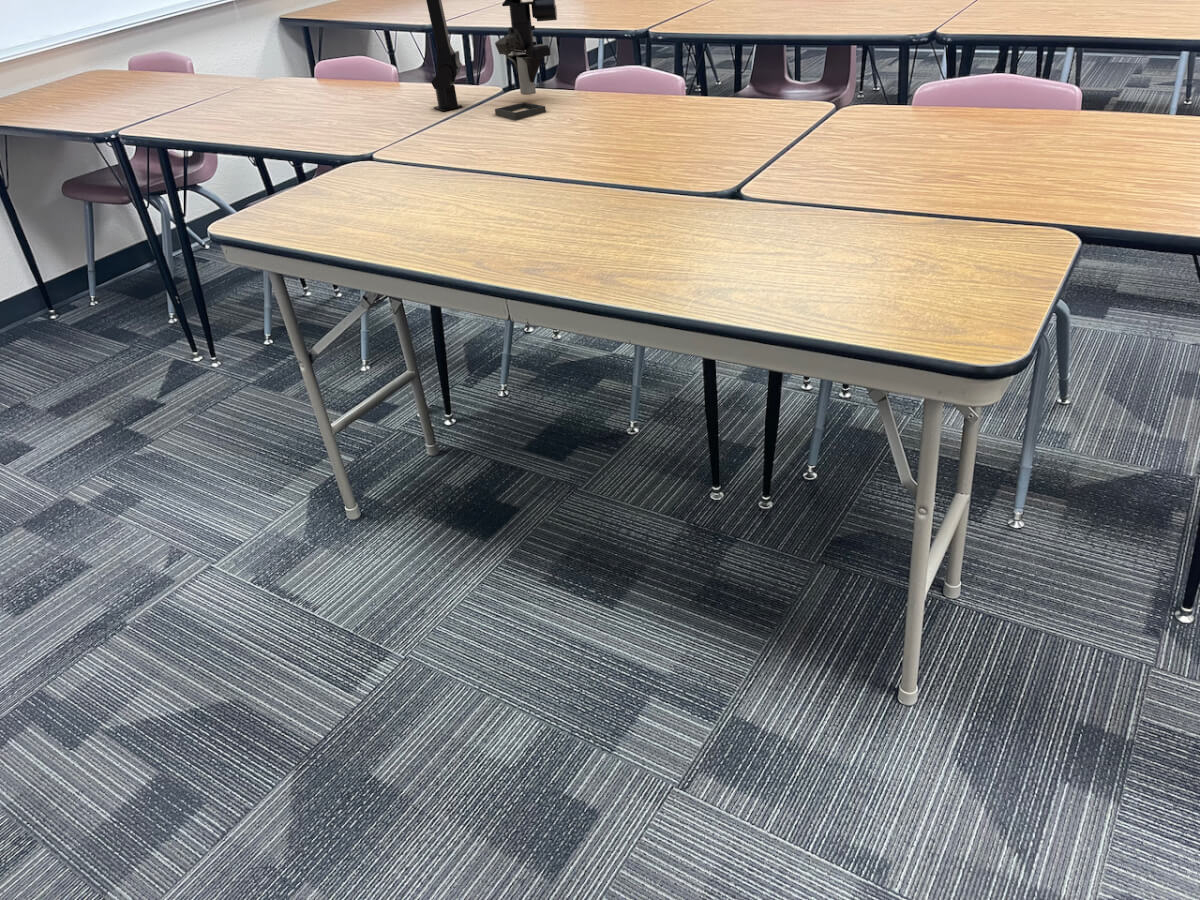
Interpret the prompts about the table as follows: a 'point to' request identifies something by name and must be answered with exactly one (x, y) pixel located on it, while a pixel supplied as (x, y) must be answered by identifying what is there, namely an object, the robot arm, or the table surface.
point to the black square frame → (508, 113)
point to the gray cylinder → (524, 77)
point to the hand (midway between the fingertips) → (527, 81)
